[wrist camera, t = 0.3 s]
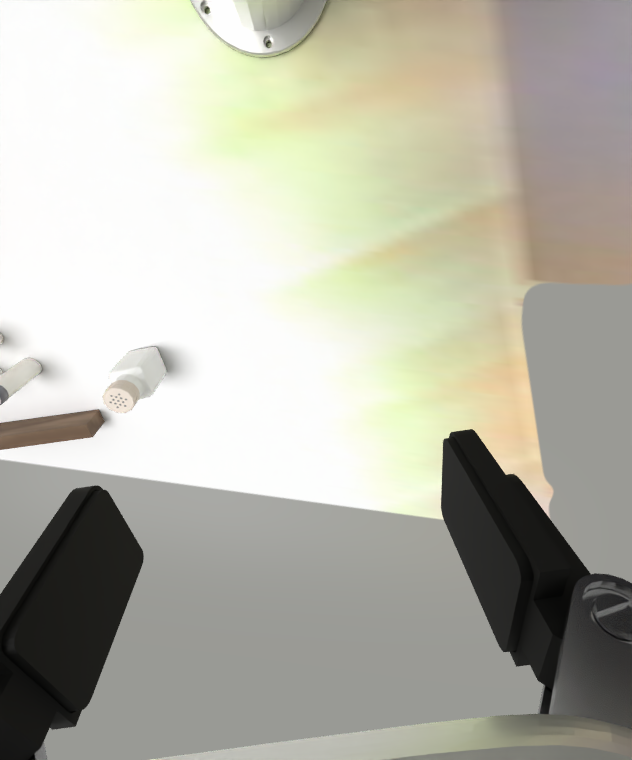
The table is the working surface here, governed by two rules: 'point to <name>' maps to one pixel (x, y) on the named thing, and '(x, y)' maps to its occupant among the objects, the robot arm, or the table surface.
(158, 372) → the salt shaker
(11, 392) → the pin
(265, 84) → the table surface
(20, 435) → the rail
